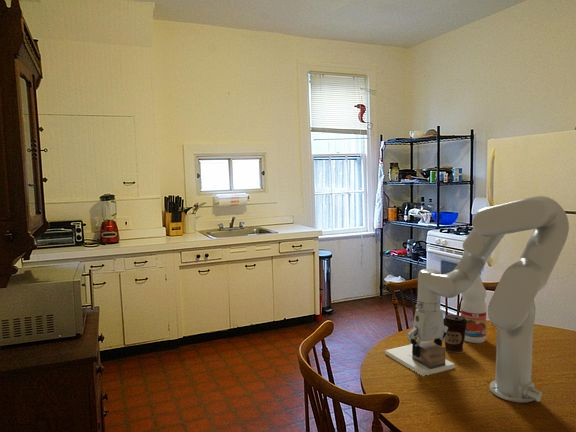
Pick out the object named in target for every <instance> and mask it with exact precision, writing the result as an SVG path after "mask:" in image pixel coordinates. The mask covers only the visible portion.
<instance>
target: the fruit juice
mask: <svg viewBox="0 0 576 432" xmlns="http://www.w3.org/2000/svg"><path fill="white" fill-rule="evenodd" d="M481 276H482V272H481V273H480V274H479V276H478V277H477V278H476V280H475V281H474V282H473V284H472V285H471V286H470V287H469V288H468V289H467V290H466V291H464V292H462V293H461V297H462V300H461V303H460V316H463V317H465V320H466V321H467V325H466V330H465V340H464V342H467V343H472V344H481V343H484V342H486V336H487V312H488V308H487V303H486V298H487V290H486V288H485V286H484V284H483V281H482V279H481Z"/></svg>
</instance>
